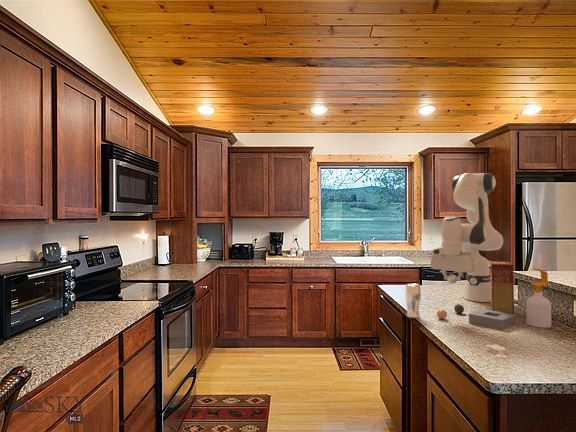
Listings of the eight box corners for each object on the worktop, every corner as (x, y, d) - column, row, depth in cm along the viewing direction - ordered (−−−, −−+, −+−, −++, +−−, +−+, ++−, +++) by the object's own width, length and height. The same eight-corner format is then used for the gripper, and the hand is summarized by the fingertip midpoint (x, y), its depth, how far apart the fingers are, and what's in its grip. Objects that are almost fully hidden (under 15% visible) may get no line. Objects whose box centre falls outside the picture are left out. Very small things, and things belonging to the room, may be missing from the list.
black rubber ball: (457, 311, 189) (456, 302, 189) (465, 313, 186) (465, 304, 186) (452, 313, 186) (452, 304, 186) (461, 315, 183) (461, 305, 183)
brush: (477, 352, 134) (477, 346, 134) (493, 348, 138) (493, 342, 138) (503, 361, 126) (503, 354, 126) (518, 356, 130) (518, 349, 130)
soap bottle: (521, 322, 169) (521, 266, 170) (542, 322, 169) (542, 266, 169) (534, 328, 160) (533, 269, 161) (556, 328, 160) (555, 269, 160)
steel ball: (450, 282, 183) (450, 273, 183) (459, 283, 180) (458, 274, 180) (445, 283, 181) (445, 274, 181) (454, 284, 177) (454, 275, 177)
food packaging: (490, 311, 190) (490, 260, 190) (512, 313, 186) (512, 261, 186) (491, 317, 178) (491, 263, 178) (515, 319, 174) (514, 264, 174)
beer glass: (405, 317, 178) (405, 285, 179) (406, 314, 185) (405, 283, 185) (421, 319, 176) (420, 286, 176) (421, 315, 183) (421, 284, 183)
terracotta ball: (440, 317, 179) (439, 307, 179) (449, 319, 175) (448, 309, 175) (435, 318, 176) (434, 309, 176) (444, 320, 173) (443, 311, 173)
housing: (483, 317, 178) (483, 308, 178) (516, 323, 167) (516, 314, 167) (468, 322, 169) (468, 313, 169) (502, 329, 158) (502, 320, 158)
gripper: (477, 252, 174) (477, 282, 174) (435, 249, 190) (436, 277, 190) (470, 252, 170) (470, 283, 170) (428, 250, 186) (429, 278, 186)
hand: (452, 280), depth 180 cm, fingers closed on steel ball, 4 cm apart
